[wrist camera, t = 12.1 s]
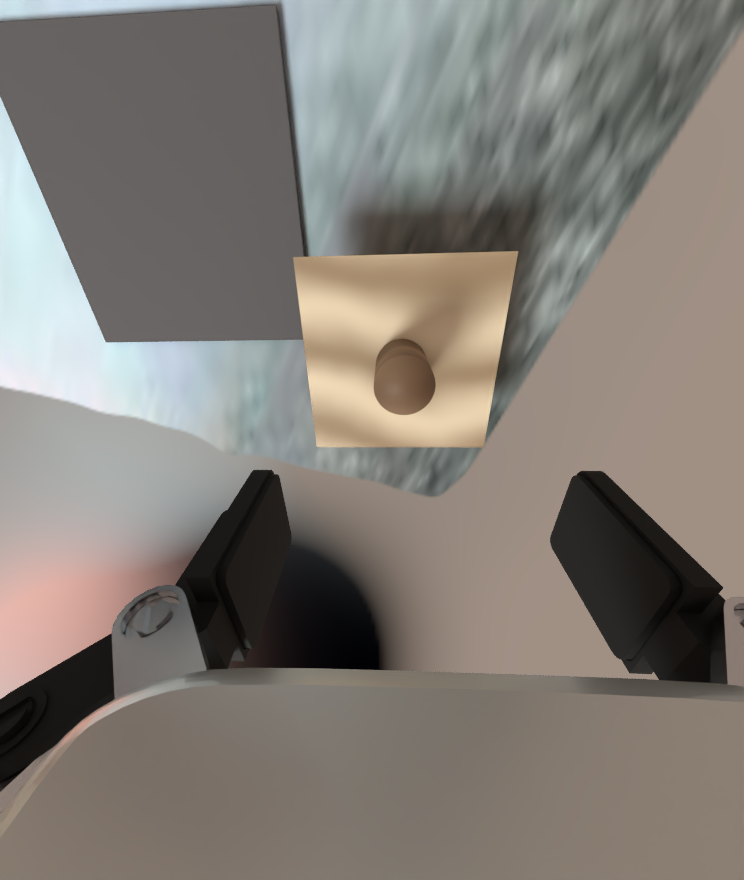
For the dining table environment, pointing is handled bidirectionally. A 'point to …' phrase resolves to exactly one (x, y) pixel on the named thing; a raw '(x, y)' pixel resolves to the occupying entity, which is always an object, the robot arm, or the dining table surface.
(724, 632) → the robot arm
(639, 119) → the dining table surface
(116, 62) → the rubber mat
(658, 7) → the dining table surface
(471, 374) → the beech lid
